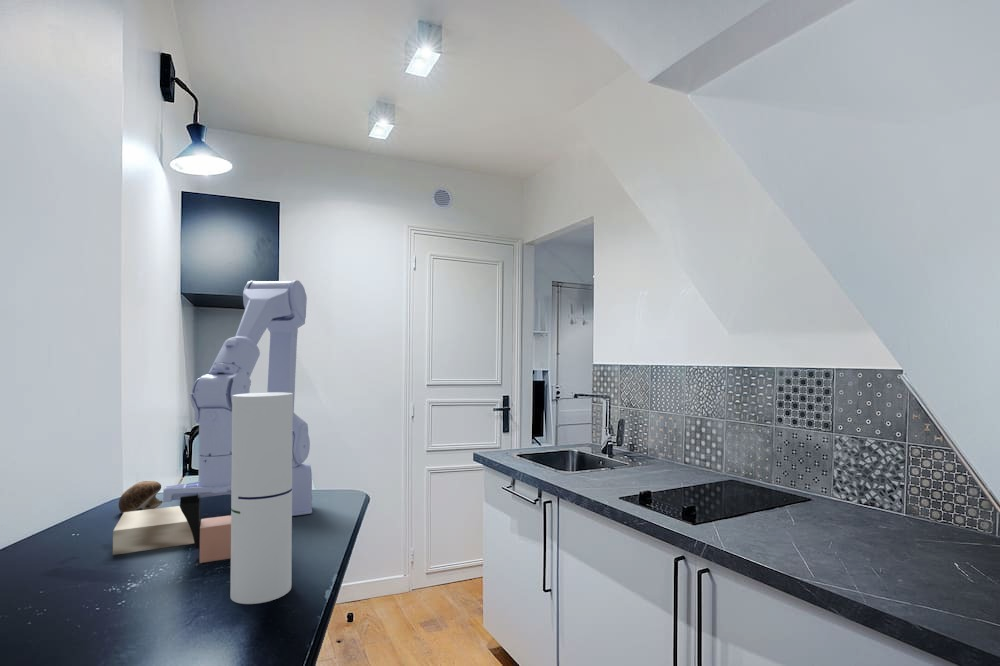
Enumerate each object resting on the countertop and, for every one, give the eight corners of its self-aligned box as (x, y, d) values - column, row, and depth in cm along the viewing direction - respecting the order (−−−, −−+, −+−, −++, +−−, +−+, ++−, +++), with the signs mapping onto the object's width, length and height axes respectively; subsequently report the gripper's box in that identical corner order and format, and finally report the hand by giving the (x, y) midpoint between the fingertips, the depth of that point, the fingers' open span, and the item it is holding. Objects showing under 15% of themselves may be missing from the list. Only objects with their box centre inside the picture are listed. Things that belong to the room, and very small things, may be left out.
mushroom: (180, 489, 110) (158, 466, 108) (153, 516, 102) (129, 491, 101) (153, 506, 112) (132, 483, 110) (125, 532, 104) (101, 509, 103)
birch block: (197, 526, 98) (198, 503, 98) (195, 545, 88) (196, 520, 88) (123, 536, 93) (123, 512, 93) (112, 557, 83) (113, 530, 83)
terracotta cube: (237, 546, 86) (237, 514, 86) (237, 557, 82) (238, 523, 82) (200, 552, 84) (201, 519, 84) (199, 563, 80) (199, 528, 80)
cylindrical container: (269, 606, 66) (271, 396, 67) (217, 601, 67) (219, 396, 68) (302, 581, 73) (303, 392, 74) (254, 577, 74) (256, 392, 75)
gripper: (161, 462, 77) (160, 560, 76) (273, 453, 83) (272, 543, 83) (166, 453, 83) (165, 545, 82) (270, 446, 89) (269, 530, 89)
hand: (219, 543), depth 83 cm, fingers closed on terracotta cube, 5 cm apart
